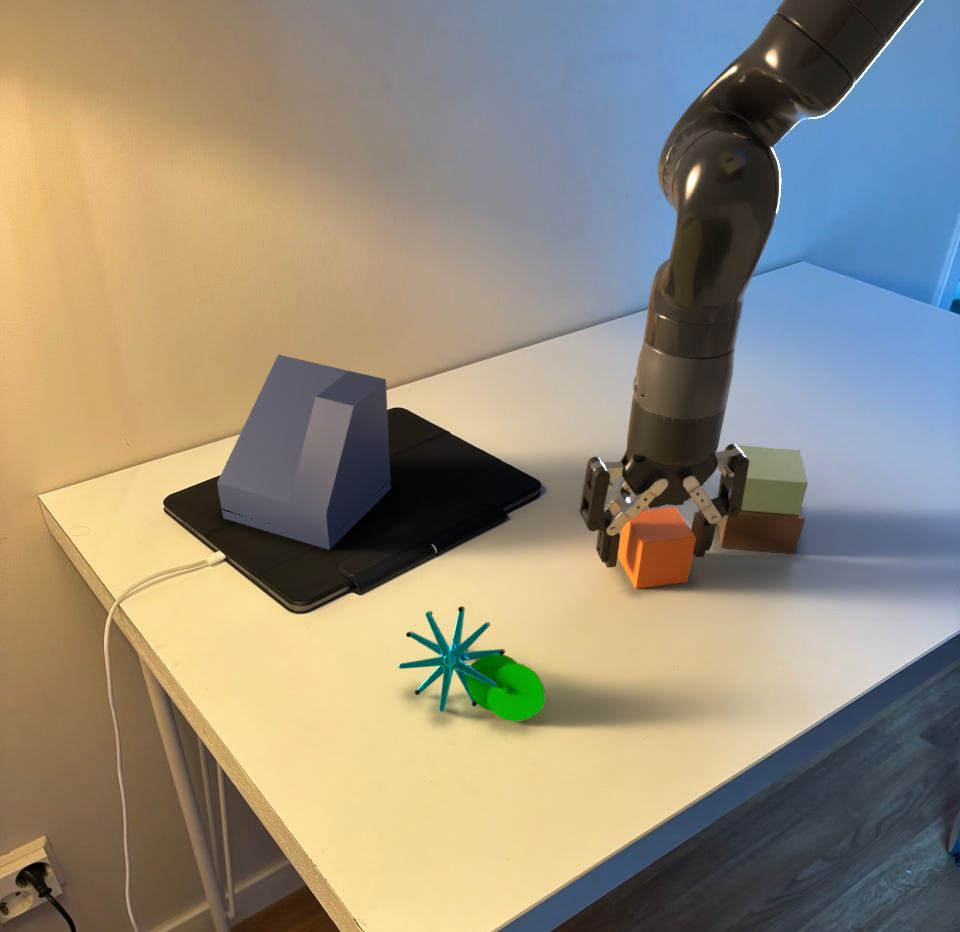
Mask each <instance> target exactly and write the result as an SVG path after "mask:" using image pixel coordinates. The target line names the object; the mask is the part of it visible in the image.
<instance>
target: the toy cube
mask: <svg viewBox="0 0 960 932" xmlns="http://www.w3.org/2000/svg"><path fill="white" fill-rule="evenodd" d="M620 531H621V532H620V542H619V550H618V557H617V559H618V560H619V562H620V564H621V566H622V567H623V569H624V571H625V572H626V574H627V576H628V578H629V579H630V582H631V583H632V585H633V586H634V588H635V589H636V590H637V589H645V588H653V587H660V586H668V585H676V584H677V585H678V584H685V583H688V581H689V577H690V571H691V566H692V561H693V560H692V559H693V556H694V554H693V551H694V546H695V541H696V536H695V535H694V533H693V532H692V530H691V527H690V526H689V524H688V523H687V521H686V520H685V518H684V517H683V516H682V514H681V513H680V511H679V510H678V508H677V506H668V507H659V508H650V509H644V510H643V511H642V512H641V513H640V515H639V516H638V517H637V518H635V519H630V520H629V521H628V522H627V523H626V525H625V526H624V527H623V528H622V529H621V530H620Z"/></svg>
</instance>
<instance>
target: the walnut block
mask: <svg viewBox="0 0 960 932" xmlns="http://www.w3.org/2000/svg"><path fill="white" fill-rule="evenodd" d="M805 520H806V518H805V513H804V509H803V505H802V506H801V510H800V514H799V515H789V514H778V513H766V512H754V511H742V510H741V512H740V513H739V514H738V515H736V516H730V515H726V516H724V517H722V518H721V519H720V521H719V522H718V533H719V544H720V548H722V549H732V550H743V551H745V550H746V551H754V552H764V553H765V552H767V553H776V554H777V553H778V554H787V555H788V554H790V555H796V553H797V550H798V546H799V542H800V539H801V535H802V532H803V528H804V524H805Z"/></svg>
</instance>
